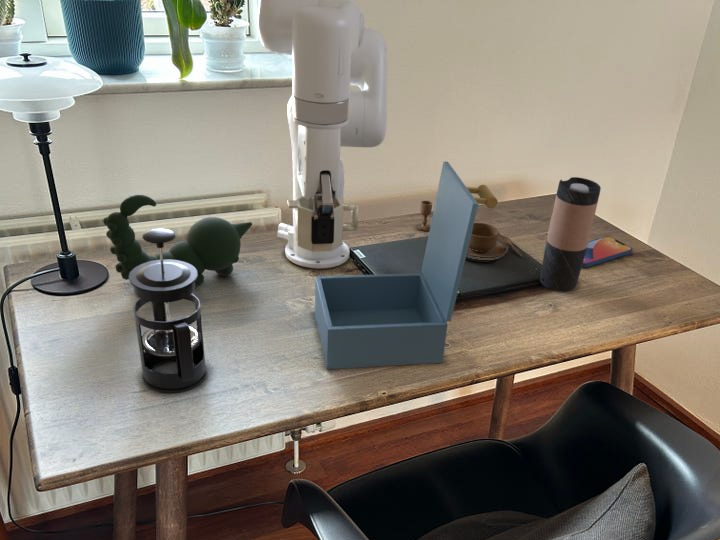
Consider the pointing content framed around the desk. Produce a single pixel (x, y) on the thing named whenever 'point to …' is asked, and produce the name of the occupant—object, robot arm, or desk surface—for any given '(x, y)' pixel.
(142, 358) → the french press
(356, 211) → the jug
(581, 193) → the travel mug
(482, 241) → the place setting
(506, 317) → the desk surface
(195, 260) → the toy figurine
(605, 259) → the smartphone
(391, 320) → the chest
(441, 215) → the lid
